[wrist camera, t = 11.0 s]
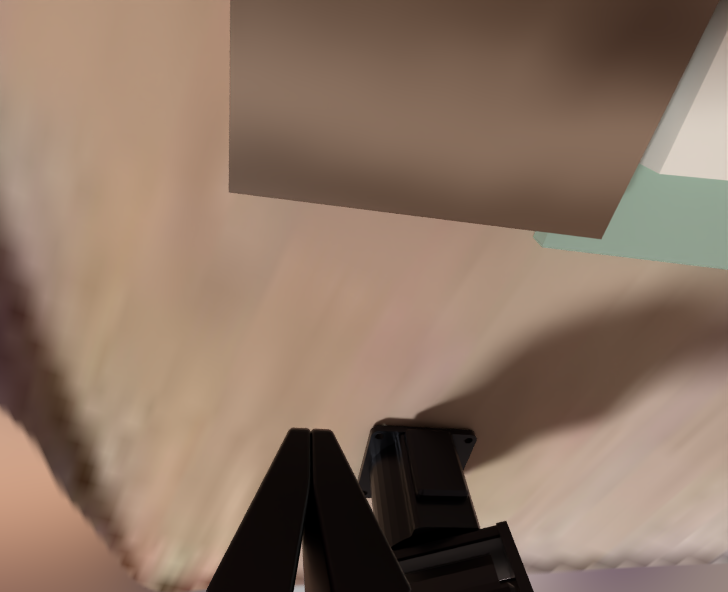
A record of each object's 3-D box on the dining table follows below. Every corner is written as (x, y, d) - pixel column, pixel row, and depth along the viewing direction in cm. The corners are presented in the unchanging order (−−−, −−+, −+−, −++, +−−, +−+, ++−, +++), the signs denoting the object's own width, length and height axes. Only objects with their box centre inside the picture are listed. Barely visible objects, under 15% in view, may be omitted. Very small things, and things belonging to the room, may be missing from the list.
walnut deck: (566, 209, 20) (601, 239, 18) (241, 164, 18) (229, 192, 15) (746, -209, 13) (846, -256, 11) (253, -367, 11) (234, -474, 8)
